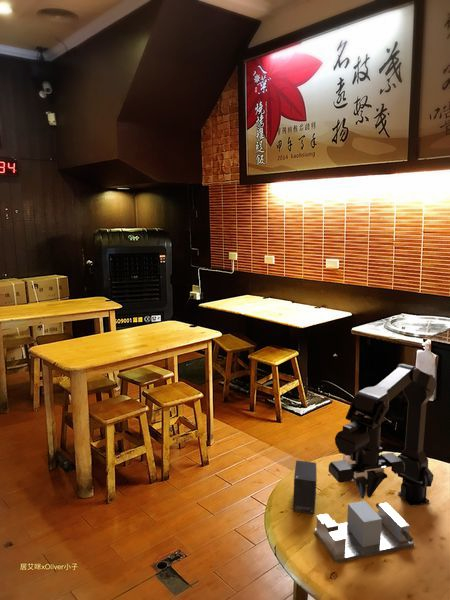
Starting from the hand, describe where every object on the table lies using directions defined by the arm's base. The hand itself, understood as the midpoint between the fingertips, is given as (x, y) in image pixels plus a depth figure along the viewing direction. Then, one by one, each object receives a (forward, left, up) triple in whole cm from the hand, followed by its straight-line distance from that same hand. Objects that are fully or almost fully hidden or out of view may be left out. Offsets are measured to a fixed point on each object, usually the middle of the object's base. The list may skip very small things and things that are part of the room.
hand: (365, 497), depth 122 cm
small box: (+8, -19, -12) cm, 24 cm away
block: (0, 0, -11) cm, 11 cm away
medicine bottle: (-14, -28, -12) cm, 34 cm away
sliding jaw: (-9, 0, -11) cm, 14 cm away
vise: (0, 0, -12) cm, 12 cm away
